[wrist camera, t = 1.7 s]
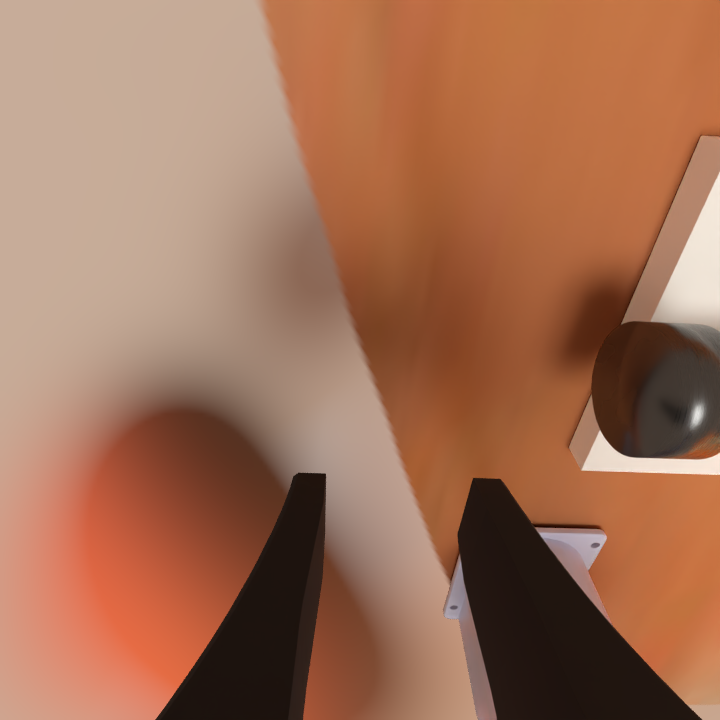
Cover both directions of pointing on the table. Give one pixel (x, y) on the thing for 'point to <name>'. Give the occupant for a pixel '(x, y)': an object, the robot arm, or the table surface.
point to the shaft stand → (672, 300)
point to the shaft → (659, 390)
